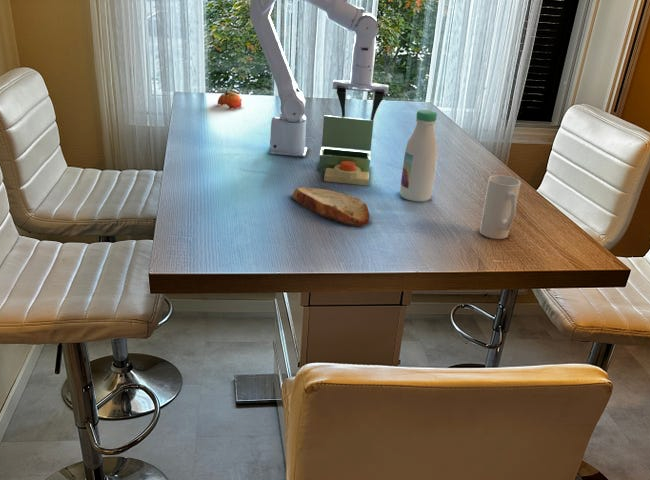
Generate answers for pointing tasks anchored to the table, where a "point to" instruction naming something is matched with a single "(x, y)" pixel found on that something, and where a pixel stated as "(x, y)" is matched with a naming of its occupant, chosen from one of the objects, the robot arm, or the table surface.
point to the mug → (499, 206)
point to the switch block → (346, 176)
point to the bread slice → (333, 205)
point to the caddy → (343, 158)
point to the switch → (347, 166)
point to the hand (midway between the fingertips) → (357, 119)
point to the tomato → (230, 100)
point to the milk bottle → (420, 159)
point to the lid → (347, 133)
